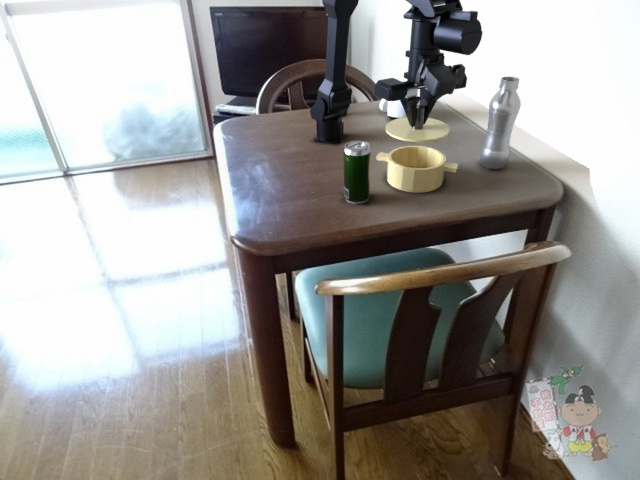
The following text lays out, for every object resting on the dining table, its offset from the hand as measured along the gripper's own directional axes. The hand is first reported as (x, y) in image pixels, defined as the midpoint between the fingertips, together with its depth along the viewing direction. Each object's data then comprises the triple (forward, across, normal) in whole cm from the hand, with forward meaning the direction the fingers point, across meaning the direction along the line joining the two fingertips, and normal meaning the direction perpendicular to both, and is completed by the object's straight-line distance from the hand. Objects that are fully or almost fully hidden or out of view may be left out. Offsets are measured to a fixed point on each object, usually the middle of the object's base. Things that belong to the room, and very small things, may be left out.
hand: (417, 125), depth 92 cm
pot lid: (+1, 0, 0) cm, 1 cm away
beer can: (+12, -16, -3) cm, 20 cm away
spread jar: (+13, +19, +36) cm, 42 cm away
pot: (+12, 0, -1) cm, 12 cm away
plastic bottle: (+12, +20, -4) cm, 24 cm away
